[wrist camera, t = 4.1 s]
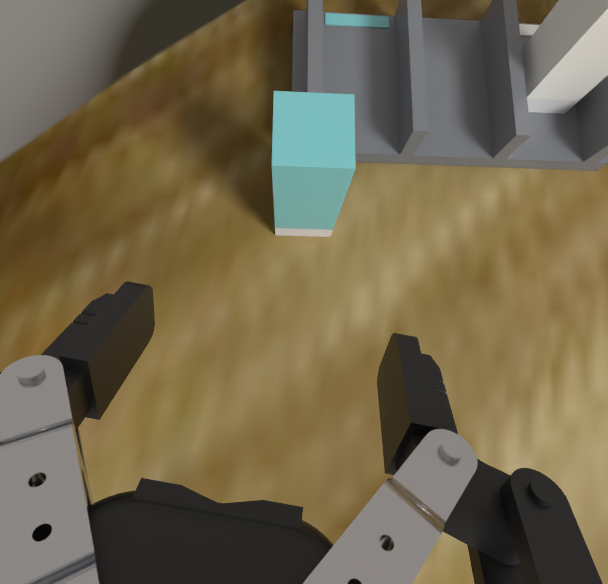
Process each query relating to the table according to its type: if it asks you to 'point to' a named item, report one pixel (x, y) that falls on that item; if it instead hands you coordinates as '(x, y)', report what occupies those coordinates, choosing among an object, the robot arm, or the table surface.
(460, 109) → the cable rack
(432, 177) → the table surface
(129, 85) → the table surface
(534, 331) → the table surface
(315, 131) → the teal plug
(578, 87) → the white rectangular block
